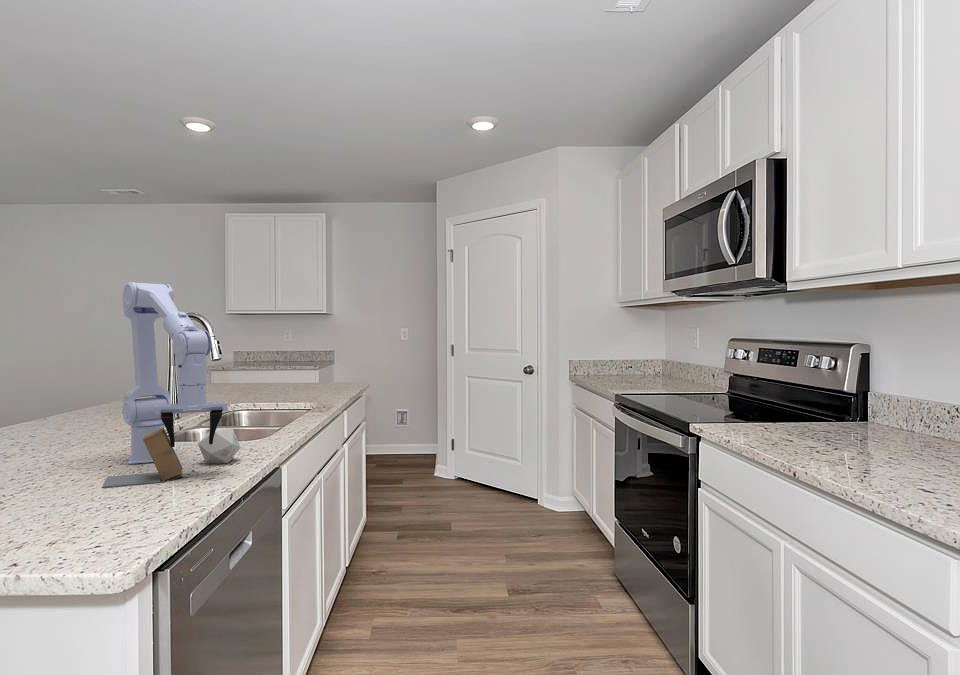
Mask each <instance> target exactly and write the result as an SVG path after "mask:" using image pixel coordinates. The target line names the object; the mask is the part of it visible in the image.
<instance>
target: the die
mask: <svg viewBox="0 0 960 675" xmlns="http://www.w3.org/2000/svg"><path fill="white" fill-rule="evenodd" d="M209 433H210V430H208V432H206V434H205V435H204V437H202V438H201V440H199V442H198V443H197V445H198V447H199V451H200V452H201V454H202V457H203V459H204V461H205V463H206V464H229V462H230V461H231V460H232V459H233V458H234V456H236V454H237V453H238V452H239V451H240V449H241V444H240V443H239V440H238V437H237V435H236V433H235V431H234V428H216V431H215V434H214V438H213V444H209Z"/></svg>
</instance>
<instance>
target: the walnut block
mask: <svg viewBox="0 0 960 675" xmlns="http://www.w3.org/2000/svg"><path fill="white" fill-rule="evenodd" d="M143 441H144V443H145V445H146V447H147V449H148V452H149V454H150V456H151V458H152V460H153V462H152V463H153V464H154V467H155V468H156V472H158V473H159V475H160V477H161V481H162V482H165V481H166V480H169V479H171V478H173V477H176V476H178V475H180V474H182V473H183V466H182V463H181V462H180V460H179V458H178V455H177V453H176V450H175V449H174V448H175V447H171V442H170V438H169V435H168V432H167V430H166V428H165V427H164V428H161V429H159V430H156V431H154V432H151V433H149V434H146V435H145V436H144V439H143Z"/></svg>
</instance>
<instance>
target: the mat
mask: <svg viewBox="0 0 960 675" xmlns="http://www.w3.org/2000/svg"><path fill="white" fill-rule="evenodd" d="M105 478H106V479H105V480H104V482H103V484H102V485H101V489H105V488H106V489H108V488H118V487H127V486H128V487H131V486H140V485H150V484H159V483H161V481H162V479H161V477H160V475H159V473H158V471H156V472H147V473H146V472H143V473H133V474H132V473H131V474H122V475H113V476H106V477H105Z"/></svg>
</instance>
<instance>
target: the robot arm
mask: <svg viewBox="0 0 960 675" xmlns="http://www.w3.org/2000/svg"><path fill="white" fill-rule="evenodd" d="M174 294H175V293H174V289H173V288H172V286H171V285H170V284H168V283H163V284H162V283H149V282H147V283H146V282H133V281H128V282H127V283H126V284H125V286H124V288H123V291H122V305H123V306H122V308H123V316H124V317H126V318H128V320H130V324H131V325H130V326H131V334H132V335H131V337H132V338H131V339H132V351H133V352H132V353H133V367H134V379H135V385H134V386H133V387H131V388H130V389H129V390H128V391H126V393H125V394H124V395H123V403H122V410H121V414H122V417H123V418H122V419H123V421H124V422H125V423H126V424H127V425H128V426H130V457H129V459H128V461H127V464H128V465H134V464H148V463H154V462H153V460H152V458H151V456H150V454H149V452H148V449H147V447H146V445H145V443H144V441H143V439H144V436H145V435H146V434H149V433H151V432H154V431H156V430H159V429H161V428H164V429H165V431H166V433H167V436H168V438H169V440H170V442H171V447H173V448H175V446H176V442H175V441H176V440H175V429H174V428H175V427H174V426H175V425H174V424H175V422H174V420H175V414H191V413H209V431H210V433H209V444H213V438H214V434H215V431H216V429H218V425H219V423H220V421H221V419H222V416H223V412H224V413H225V412H228V402H227V401H221V402H219V401H218V402H217V401H215V402H211V401H207V356H209V355H210V353H211V351H212V345H213V344H212V338H211V335H210V333H209V331H207V330H206V329H205V330H203V329H198V327H197V326H196V324H195V323H194V322H193V321H192V319H191V318H190V317H189V315H188V314H187V313H186V312H184V311H179V309H178V307H177V306H176V304H175V302H174V300H175V295H174ZM161 318H162V319H163V322H162V326H163V328H164V330H165V332H166V333H167V335H168V336H169V338H170V339H171V340H172V350H173V354H174V360H175V364H176V365H177V403H172V400H171V396H170V392H169V390H168V389H166V388H165V387H163V386H161V385H160V384H159V377H158V364H157V350H156V337H155V336H156V335H155V321H156V320H159V319H161ZM143 397H145V398H143Z"/></svg>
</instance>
